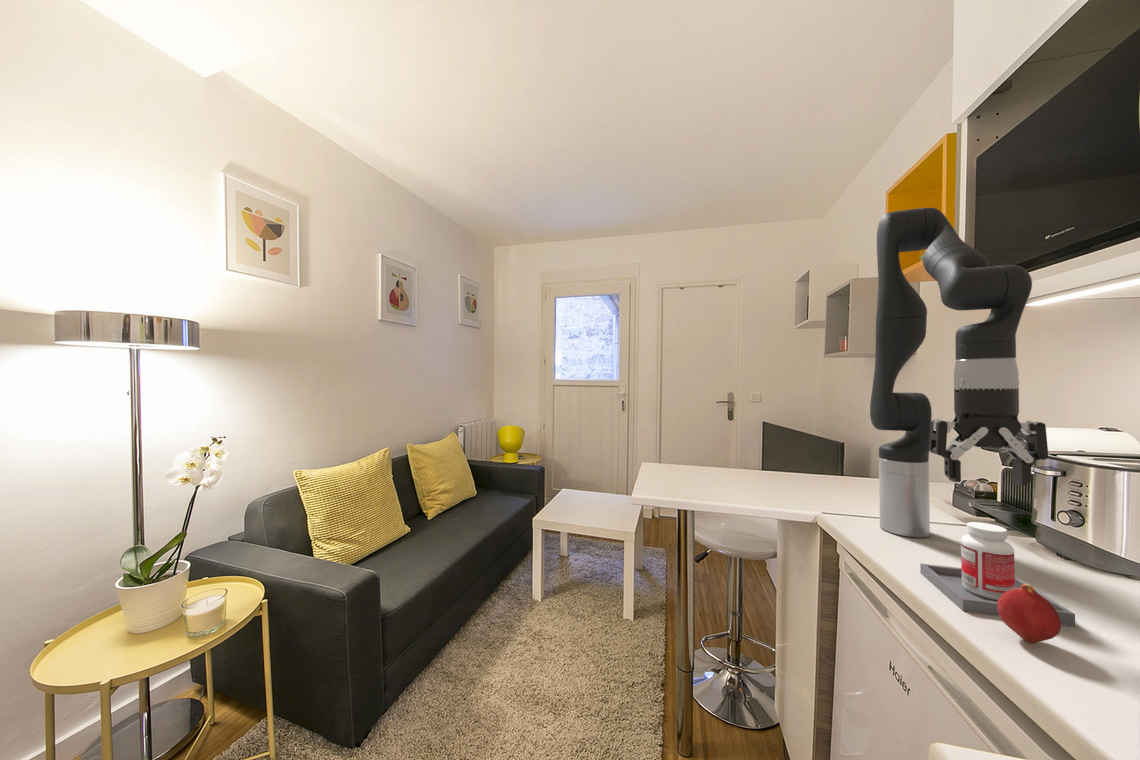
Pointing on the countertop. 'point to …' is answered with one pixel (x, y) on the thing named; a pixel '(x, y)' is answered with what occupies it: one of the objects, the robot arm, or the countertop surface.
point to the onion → (1029, 614)
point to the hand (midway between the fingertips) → (986, 482)
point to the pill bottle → (987, 561)
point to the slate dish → (952, 587)
